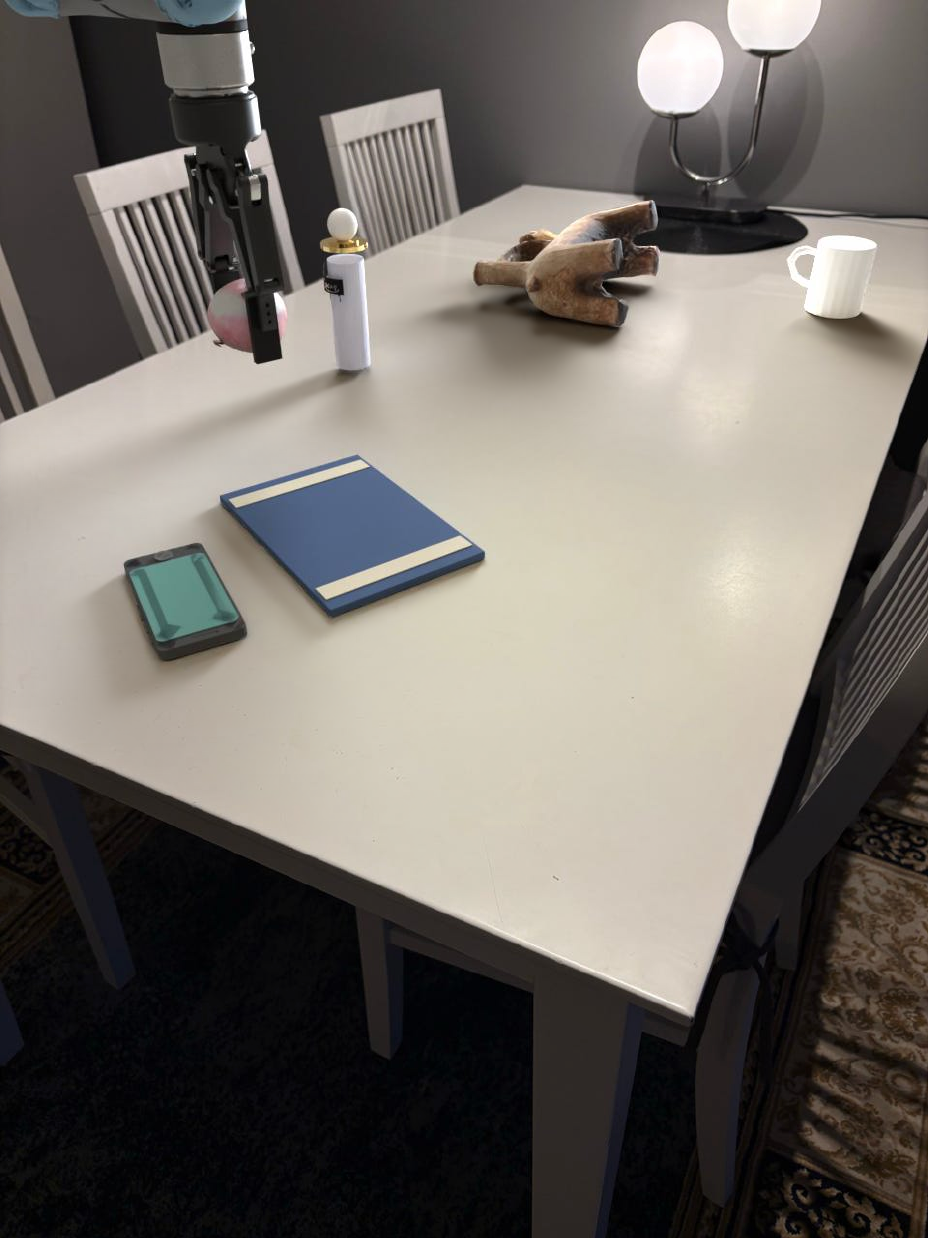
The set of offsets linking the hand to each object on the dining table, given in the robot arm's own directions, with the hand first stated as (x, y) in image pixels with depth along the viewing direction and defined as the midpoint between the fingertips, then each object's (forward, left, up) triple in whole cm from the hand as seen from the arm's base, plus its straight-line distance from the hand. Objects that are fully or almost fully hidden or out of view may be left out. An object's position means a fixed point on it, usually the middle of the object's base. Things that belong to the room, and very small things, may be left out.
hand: (250, 347), depth 92 cm
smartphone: (+21, -17, -13) cm, 30 cm away
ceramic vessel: (-25, +64, -13) cm, 70 cm away
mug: (+3, +91, -13) cm, 91 cm away
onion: (0, 0, 0) cm, 1 cm away
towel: (+18, 0, -13) cm, 22 cm away
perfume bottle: (-17, +21, -13) cm, 30 cm away
